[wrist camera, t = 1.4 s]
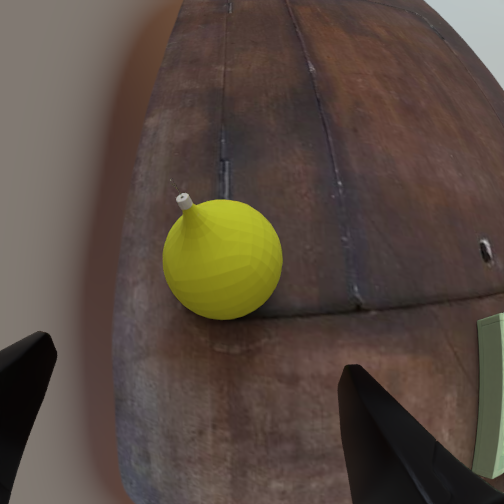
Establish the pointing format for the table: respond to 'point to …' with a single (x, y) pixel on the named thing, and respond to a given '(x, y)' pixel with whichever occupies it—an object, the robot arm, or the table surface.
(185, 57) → the table surface
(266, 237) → the ornament
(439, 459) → the robot arm
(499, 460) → the pale green tray
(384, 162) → the table surface
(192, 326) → the table surface
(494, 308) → the table surface
